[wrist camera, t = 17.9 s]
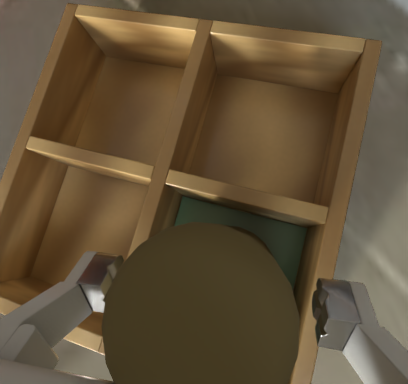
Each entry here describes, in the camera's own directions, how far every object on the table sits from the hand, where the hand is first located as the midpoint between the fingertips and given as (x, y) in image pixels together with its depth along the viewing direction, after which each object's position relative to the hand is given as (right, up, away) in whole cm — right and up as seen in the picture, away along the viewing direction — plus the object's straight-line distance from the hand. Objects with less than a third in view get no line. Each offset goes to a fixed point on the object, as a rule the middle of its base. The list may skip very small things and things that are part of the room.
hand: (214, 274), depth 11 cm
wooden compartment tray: (-2, +3, +8) cm, 9 cm away
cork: (+1, -2, +6) cm, 6 cm away
